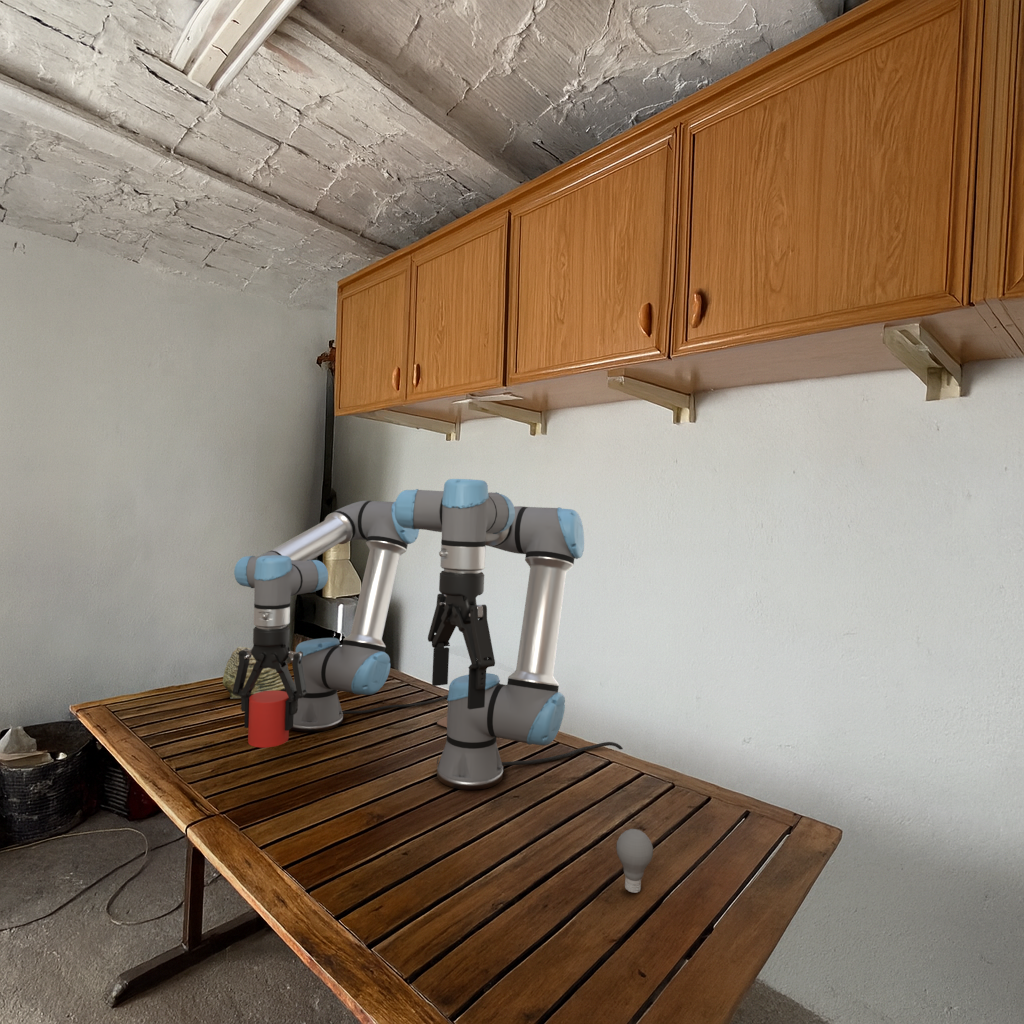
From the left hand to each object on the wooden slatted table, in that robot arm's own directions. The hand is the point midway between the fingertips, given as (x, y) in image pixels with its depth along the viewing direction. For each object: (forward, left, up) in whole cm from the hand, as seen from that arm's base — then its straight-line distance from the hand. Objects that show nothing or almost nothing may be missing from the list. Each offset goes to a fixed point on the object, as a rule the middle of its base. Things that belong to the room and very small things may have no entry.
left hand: (268, 726), depth 141 cm
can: (0, 0, -3) cm, 3 cm away
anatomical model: (-56, +6, -12) cm, 58 cm away
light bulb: (-19, +81, -12) cm, 84 cm away
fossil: (-28, -56, -12) cm, 64 cm away
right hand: (-2, +55, +19) cm, 58 cm away
